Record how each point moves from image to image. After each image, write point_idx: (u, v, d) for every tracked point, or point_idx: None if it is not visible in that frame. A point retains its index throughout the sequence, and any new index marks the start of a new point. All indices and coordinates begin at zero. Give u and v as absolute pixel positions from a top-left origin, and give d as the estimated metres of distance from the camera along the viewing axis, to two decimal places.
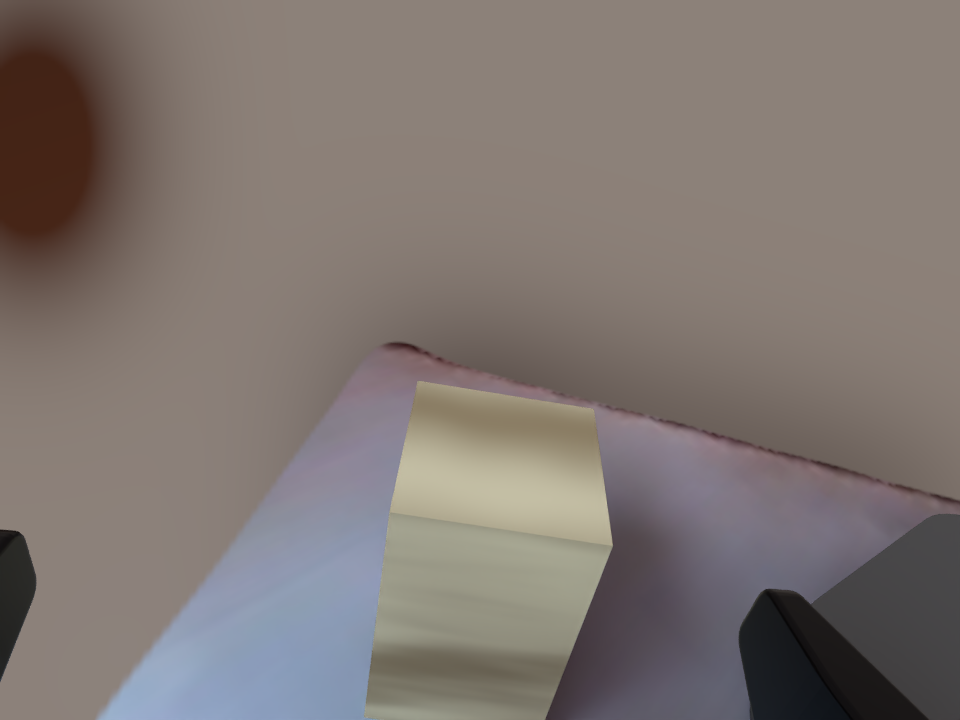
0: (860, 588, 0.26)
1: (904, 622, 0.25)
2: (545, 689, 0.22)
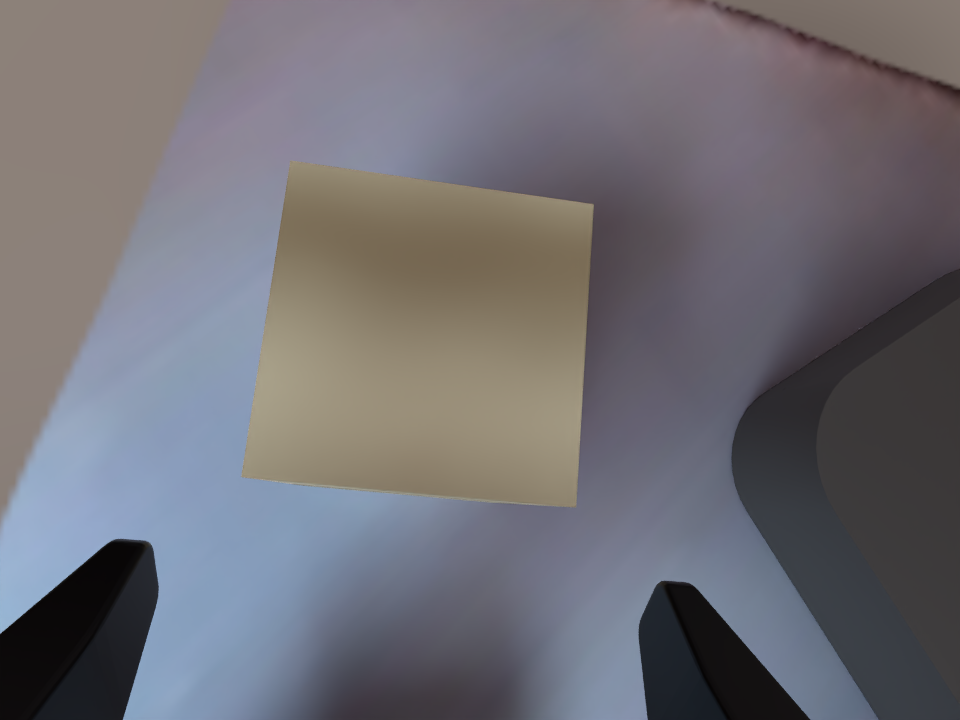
0: (919, 348, 0.20)
1: (954, 396, 0.20)
2: (496, 502, 0.20)
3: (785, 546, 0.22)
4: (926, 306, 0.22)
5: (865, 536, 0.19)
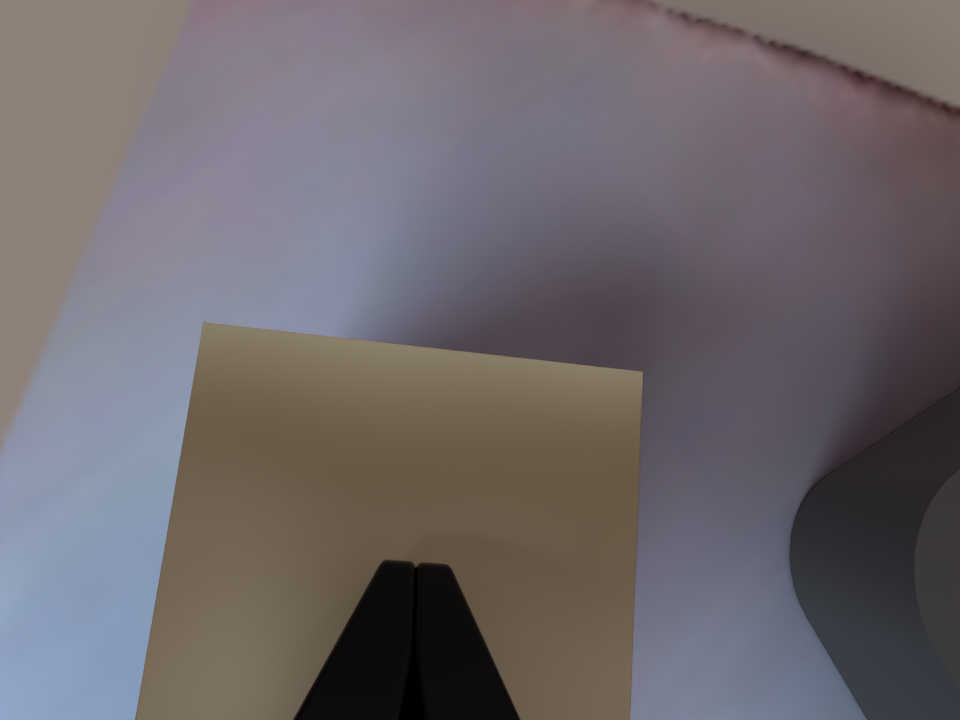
0: None
1: None
2: None
3: (856, 669, 0.18)
4: None
5: None
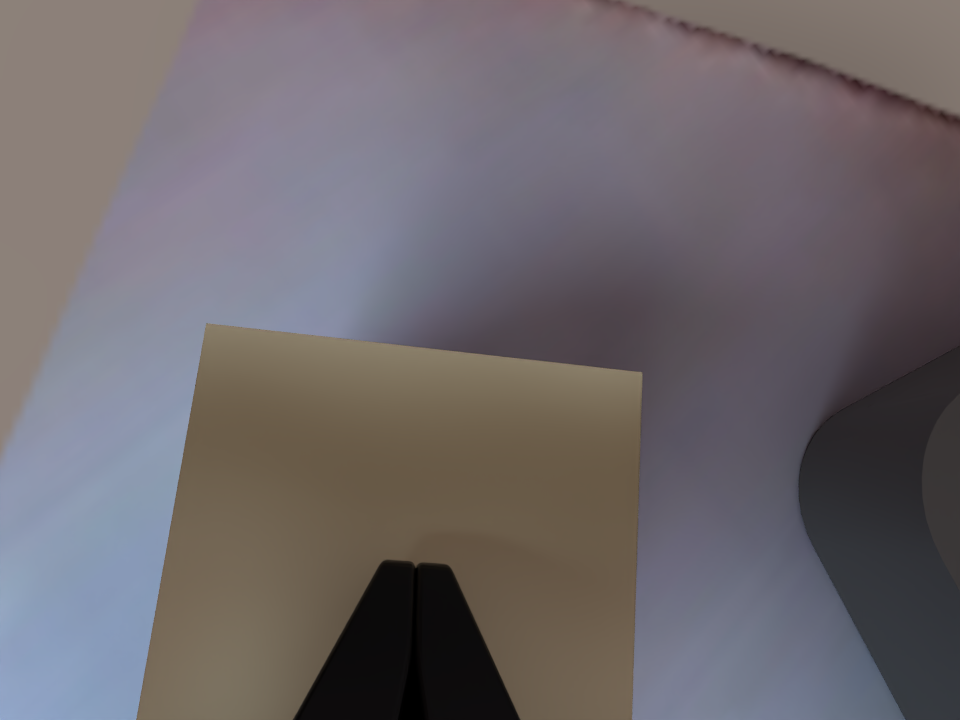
0: None
1: None
2: None
3: (859, 591, 0.19)
4: None
5: None
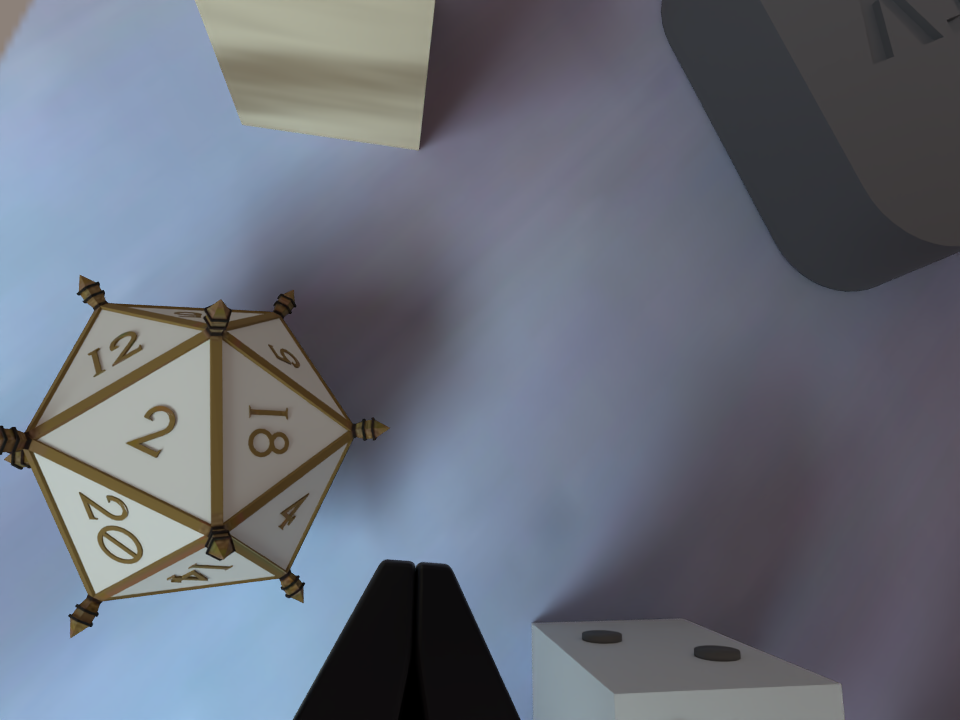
0: None
1: None
2: (412, 100, 0.21)
3: (697, 56, 0.25)
4: None
5: None
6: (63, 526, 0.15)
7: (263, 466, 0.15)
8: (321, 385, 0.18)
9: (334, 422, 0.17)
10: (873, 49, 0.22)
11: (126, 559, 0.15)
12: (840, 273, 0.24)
